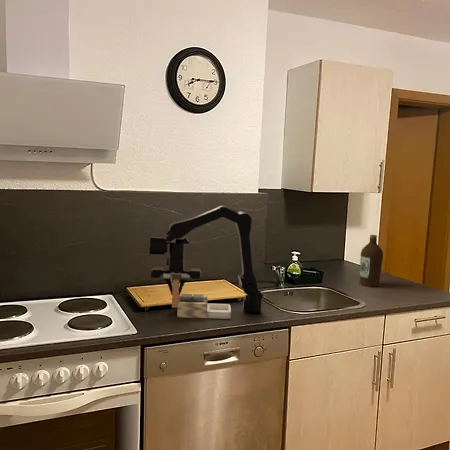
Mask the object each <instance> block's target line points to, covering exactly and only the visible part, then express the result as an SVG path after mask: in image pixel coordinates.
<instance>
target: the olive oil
mask: <svg viewBox="0 0 450 450" xmlns="http://www.w3.org/2000/svg"><path fill="white" fill-rule="evenodd" d="M377 237H378V235H376V234H370V235H369V242H368V243H367V244H366V245H365V246H363V247H362V249H361V252H360V255H359V256H360V260H359V262H360V265H359V266H360V267H359V285H360V284H362V285H361V286H363V285H365V286H364V287H367V286H378V287H379V286H380V281H381V274H382V265H383V260H384V253H383V250H382V249H381V247H380V246H379V244H378V243H377V242H378V238H377Z"/></svg>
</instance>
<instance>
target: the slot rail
mask: <svg viewBox="0 0 450 450" xmlns="http://www.w3.org/2000/svg"><path fill="white" fill-rule="evenodd" d="M181 295H182V294H180V295H179V302H178V308H176V309H177V316H176V317H177V318H192V319H194V318H195V319H208V318H207V303H208V298H209V297H208V295H204V299H203V303H200V302H193V295H192V302H181Z"/></svg>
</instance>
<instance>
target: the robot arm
mask: <svg viewBox="0 0 450 450" xmlns="http://www.w3.org/2000/svg"><path fill="white" fill-rule="evenodd" d="M221 218H225V219H227V220H229V221H231V222H233V223H234V226H235V228H236V232H237V234H238V240H239V251H240V262H241V274H237V278H238V286H239V287H240V289H242V291H243V293H244V294H245V295H244V299H243V302H242V310H243V312H244V314H245V315H262V299H263V297H264V294H263V292H261V290H260V289H259V287H258V284H257V280H256V277H255V274H254V271H253V260H252V248H251V247H252V246H251V238H250V237H251V236H250V235H251V231H252V217H251V216H250V215H249V214H248V213H247V212H245V211H236V210H233V209H231V208H229V207H226V206H225V205H219V206H218V207H216V208H215V207H214V208H213V209H211V210H208V211H206V212H204V213H200V214H198V215H196V216H193V217H191V218H186V219H179V220H175V221H172V222H171V223H170V225H169V226H168V227H169V228H168V229H169V230H168V231H167V232H166V233H165V234H164V237H163V236H161V237H160V236H158V237H156V236H150V237H149V255H150V256H165V254H167V253H168V257H166V267H168V269H164V267H162V266H161V267H159V266H157V267H156V266H153V268H152V269H151V270H150V278H151V279H152V278H155V279H157V278H160V277H161V276H162V277H163V278H162V280H163V281H165V283H166V284H167V286H168V288H169V291H170V294H171V296H172V291H173V276H181V277H180V280H179V296H180V295H181V294H182V290H183V287H184V285H185V283H186V282H188V281H189V280H190V279H189V278H191V279H192V280H194V279H195V280H200V279H202V278H201V276H202V270H201V268H194V267H192V268H190V270H185V268H186V267H185V266H186V264H185V245H186V244H187V245H189V244H190V243H191V242H190V241H189V240H188V238H187V237H186V235H188V234H189V233H191V232H192V231H193V230H194V229H196V228H199V227H202V226H204V225H207V224H209V223H211V222H214V221H216V220H219V219H221Z"/></svg>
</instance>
